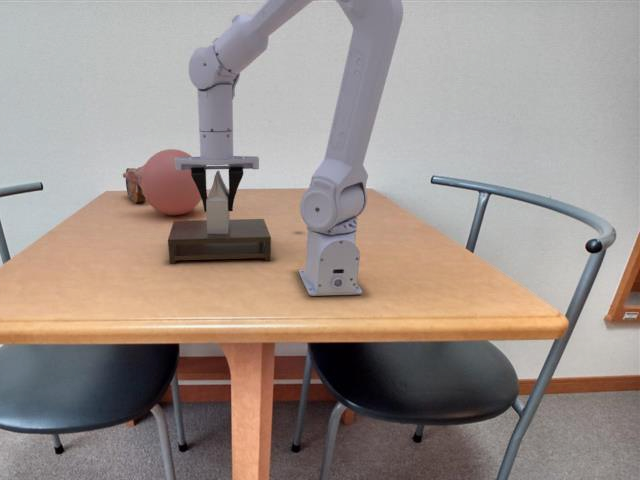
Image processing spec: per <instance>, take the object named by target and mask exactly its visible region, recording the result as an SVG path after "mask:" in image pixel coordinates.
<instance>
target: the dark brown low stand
mask: <svg viewBox="0 0 640 480" xmlns="http://www.w3.org/2000/svg"><path fill="white" fill-rule="evenodd" d="M168 234H169V235H168V237H167V247H168V259H169V264H171V265H172V264H176V262H177V261H194V260H195V261H198V260H199V261H201V260H204V261H205V260H234V259H235V260H236V259H237V260H239V259H242V260H243V259H263V260H264V262H270V261H271V254H272V253H271V252H272V249H271V248H272V237H271V233H270V231H269V228H268V226H267V223H266V220H265V219H264V218H242V219H241V218H239V219H238V218H237V219H236V218H235V219H230V224H229V231H228V234H208V233H207V219H201V220H200V219H199V220H197V219H196V220H194V219H193V220H173V222H172V225H171V227H170V232H169V233H168Z"/></svg>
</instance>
